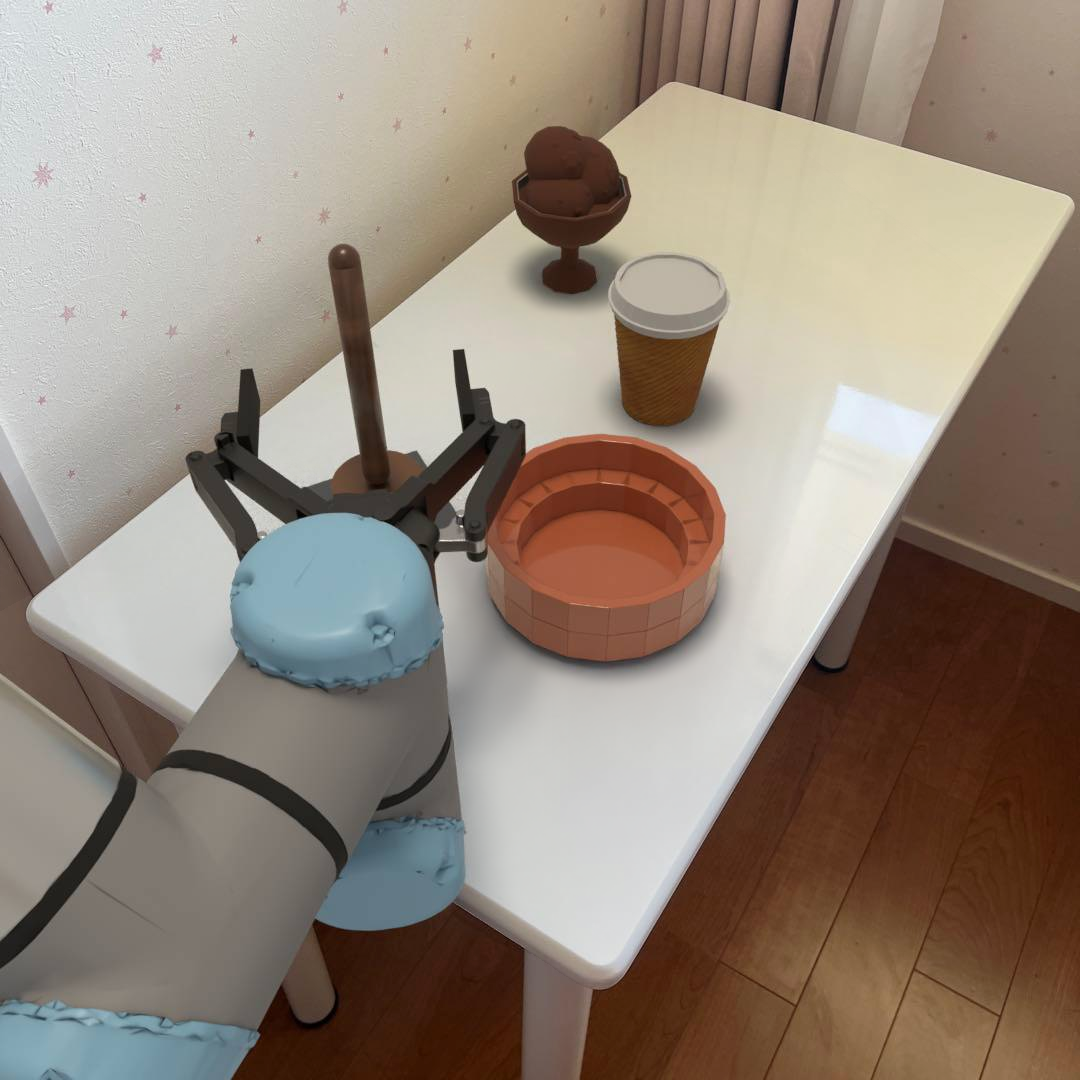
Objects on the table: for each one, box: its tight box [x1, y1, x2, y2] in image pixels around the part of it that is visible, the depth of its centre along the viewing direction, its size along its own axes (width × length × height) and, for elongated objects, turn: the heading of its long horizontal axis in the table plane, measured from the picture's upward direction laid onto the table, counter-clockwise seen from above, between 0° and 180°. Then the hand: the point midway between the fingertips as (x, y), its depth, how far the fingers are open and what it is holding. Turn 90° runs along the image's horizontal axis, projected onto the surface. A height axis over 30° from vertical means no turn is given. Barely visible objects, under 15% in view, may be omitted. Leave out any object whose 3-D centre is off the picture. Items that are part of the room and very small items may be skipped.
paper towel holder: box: [327, 243, 423, 498], centre depth 76 cm, size 7×7×23 cm
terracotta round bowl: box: [484, 433, 727, 662], centre depth 78 cm, size 17×17×6 cm
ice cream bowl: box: [511, 125, 632, 295], centre depth 102 cm, size 11×11×15 cm
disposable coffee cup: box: [607, 251, 731, 427], centre depth 90 cm, size 10×10×12 cm
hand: (356, 375), depth 72 cm, fingers open, 13 cm apart
